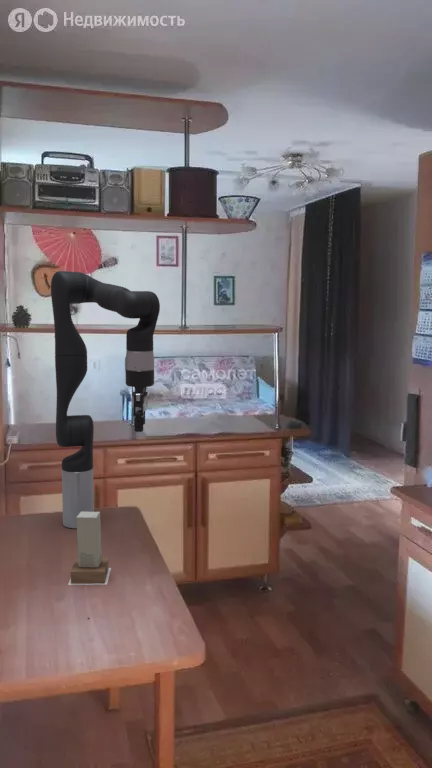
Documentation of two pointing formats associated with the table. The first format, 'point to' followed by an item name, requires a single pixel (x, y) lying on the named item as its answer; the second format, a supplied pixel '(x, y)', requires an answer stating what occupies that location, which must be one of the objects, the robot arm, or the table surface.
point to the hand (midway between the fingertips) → (140, 427)
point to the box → (89, 539)
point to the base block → (89, 573)
